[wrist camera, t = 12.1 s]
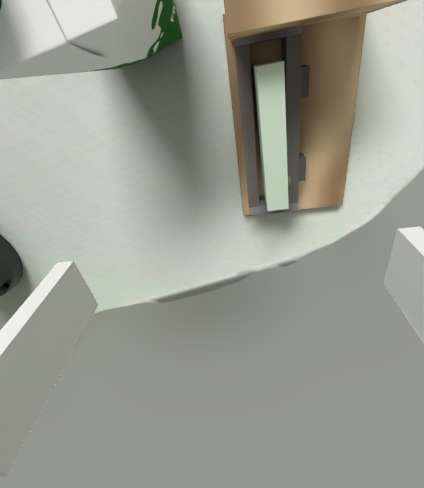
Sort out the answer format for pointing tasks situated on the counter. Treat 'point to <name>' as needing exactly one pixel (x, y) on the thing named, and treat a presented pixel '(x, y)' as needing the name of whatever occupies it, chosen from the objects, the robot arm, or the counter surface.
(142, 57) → the milk carton
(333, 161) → the wooden stand with tray
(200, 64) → the counter surface
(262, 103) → the pale green rectangular block
